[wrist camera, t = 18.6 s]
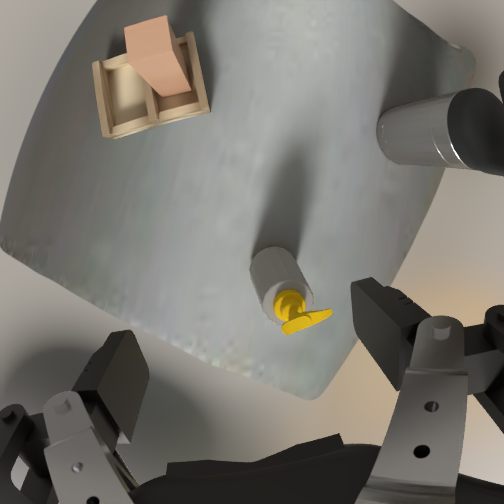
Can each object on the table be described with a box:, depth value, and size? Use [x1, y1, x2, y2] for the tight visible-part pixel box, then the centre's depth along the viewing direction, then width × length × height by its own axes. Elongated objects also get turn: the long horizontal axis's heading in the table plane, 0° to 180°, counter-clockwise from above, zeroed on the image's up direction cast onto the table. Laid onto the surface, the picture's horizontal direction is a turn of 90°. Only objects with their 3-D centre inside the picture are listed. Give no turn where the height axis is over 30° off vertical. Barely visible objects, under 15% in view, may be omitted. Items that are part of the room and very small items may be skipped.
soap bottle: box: [249, 246, 333, 335], centre depth 38 cm, size 7×7×18 cm
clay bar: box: [124, 15, 192, 98], centre depth 29 cm, size 4×4×16 cm
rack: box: [92, 31, 210, 139], centre depth 36 cm, size 14×11×5 cm
